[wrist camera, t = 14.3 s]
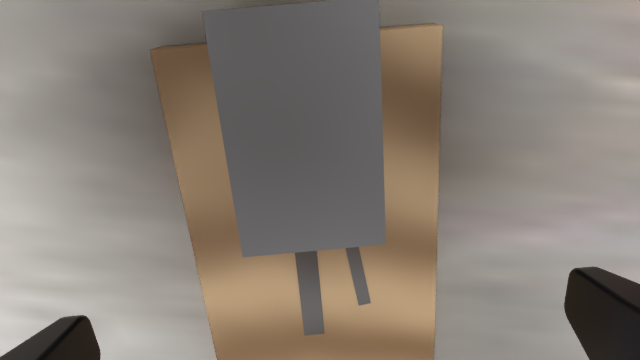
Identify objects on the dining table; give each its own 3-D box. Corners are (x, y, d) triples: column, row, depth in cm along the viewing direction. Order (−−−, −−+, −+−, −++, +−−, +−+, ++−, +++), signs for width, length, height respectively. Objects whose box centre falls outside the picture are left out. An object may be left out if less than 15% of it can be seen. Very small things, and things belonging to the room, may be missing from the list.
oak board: (427, 365, 25) (433, 383, 24) (229, 384, 25) (226, 403, 23) (433, 23, 18) (443, 25, 17) (159, 46, 18) (149, 50, 16)
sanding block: (369, 197, 19) (386, 244, 15) (253, 208, 19) (242, 257, 15) (360, -2, 16) (379, -4, 12) (224, 9, 16) (201, 11, 12)
